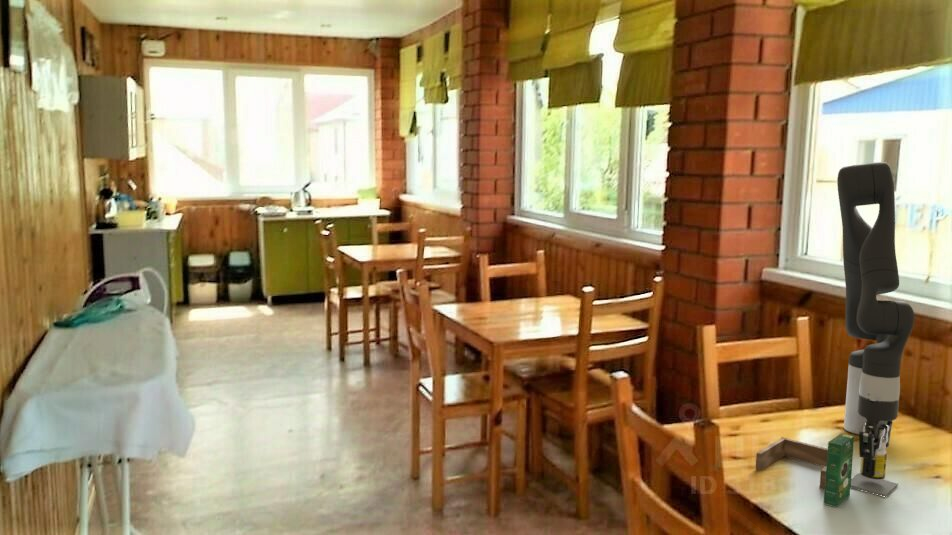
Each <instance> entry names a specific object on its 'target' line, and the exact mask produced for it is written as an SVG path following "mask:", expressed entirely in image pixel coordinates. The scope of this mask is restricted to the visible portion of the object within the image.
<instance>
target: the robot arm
mask: <svg viewBox="0 0 952 535" xmlns="http://www.w3.org/2000/svg"><path fill="white" fill-rule="evenodd" d="M836 182H837V193H838V194H837V195H838V202H839V207H840V208H839V210H840V217H841V224H842V225H841V227H842V228H841V229H842V257H843V258H842V262H843V271H844V281H845V317H844V320H845V330H846V333H847V334H848V336H850V337H852V338H853V339H854V338H855V339H860V340H861V339H863V340H868V341H869V340H871V341H876V343H871V344H868V345H866V346H865V347H864V349H859V350H854V351H851V353H850V354H849V355H848V356H849V357H848V368H847V369H848V370H847V382H846V396H845V406H844V408H845V409H844V421H843V428H844V430H845V431H847V432H849V433H852V434H856V435H858V436H859V437H858V438H859V439H858V440H859V443H858V444H859V446H858V447H859V452H858V453H859V457H860V458H861V457H863V458H864V460H863V474H864V475H866V476H870V477H873V476H874V475H875V465H876V458H877V457H876V456H877V451H878V450H879V449H881V444H882V439H883V440H885V441H886V447H885V450H886V451H887V448H889V445H890V438H891V432H892V427H893V426H892V425H893V421H895V420H897V419H898V415H899V403H900V393H901V391H900V390H901V383H900V382H901V380H900V377H901V376H900V374H901V364H902V357H903V353H904V350H905V348H906V344H907V342H908V340H909V337H910V335H911V333H912V331H913V328H914V325H915V319H916V318H915V312H914V309H913V307H912V306H911V305H910V304H909V302H906V301H903V300H902V301H901V300H881V299H879V300H877V296H878V295H884V294H888V293H892V292H895V291H896V290H897V289H898V288H899V287H900V276H899V270H898V261H897V254H896V202H895V200H896V199H895V198H896V197H895V181H894V175H893V171H892V167H891V165H890V164H889V163H888V162H886V161H878V162H877V161H876V162H869V163H861V164H851V165H846V166H842V167H841V168H840V169H839V171H838V173H837V181H836ZM870 205H879V206H878V207H879V208H878V209H879V210H878V214H877V218H876V220H875V222H874V224H873V226H871V225H869V224H868V222H866V221H865V219H864V218H863V216H861V214H860V213H859V211H858V208H857V207H859V206H870ZM874 443H877V444H876V445H874ZM867 449H868V450H869V452H870V453H867Z"/></svg>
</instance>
